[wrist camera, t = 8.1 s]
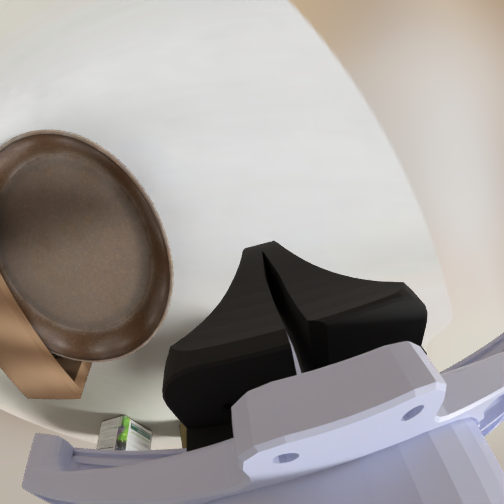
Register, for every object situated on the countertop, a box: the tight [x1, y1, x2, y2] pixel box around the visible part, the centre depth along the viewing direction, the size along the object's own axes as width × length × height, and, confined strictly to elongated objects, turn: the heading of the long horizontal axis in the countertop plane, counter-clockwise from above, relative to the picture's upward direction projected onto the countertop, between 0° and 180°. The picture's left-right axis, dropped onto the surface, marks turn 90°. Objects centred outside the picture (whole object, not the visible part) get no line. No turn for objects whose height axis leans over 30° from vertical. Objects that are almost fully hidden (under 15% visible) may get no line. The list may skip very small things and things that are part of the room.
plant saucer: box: [0, 130, 173, 362], centre depth 20 cm, size 21×21×3 cm
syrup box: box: [96, 415, 152, 451], centre depth 27 cm, size 6×6×14 cm
